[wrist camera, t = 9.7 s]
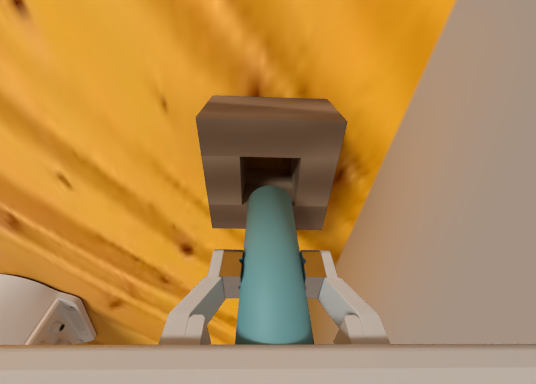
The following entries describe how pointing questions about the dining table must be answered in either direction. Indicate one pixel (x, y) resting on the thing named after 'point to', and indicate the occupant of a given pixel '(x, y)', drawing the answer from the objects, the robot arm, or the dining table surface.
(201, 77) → the dining table surface
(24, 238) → the dining table surface
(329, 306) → the robot arm
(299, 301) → the teal peg
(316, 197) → the walnut hole block
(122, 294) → the dining table surface
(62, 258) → the dining table surface
